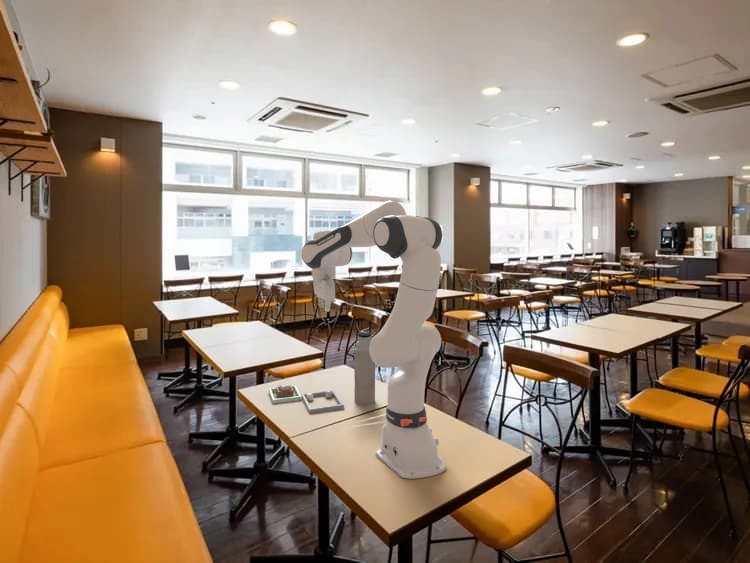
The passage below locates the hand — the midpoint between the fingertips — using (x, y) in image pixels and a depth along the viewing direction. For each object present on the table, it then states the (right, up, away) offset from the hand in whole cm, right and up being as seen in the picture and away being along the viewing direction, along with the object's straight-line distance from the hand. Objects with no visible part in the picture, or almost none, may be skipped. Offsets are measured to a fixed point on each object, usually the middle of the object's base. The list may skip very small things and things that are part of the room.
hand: (324, 309), depth 170 cm
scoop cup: (-17, -36, +8) cm, 40 cm away
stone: (-17, -35, +8) cm, 40 cm away
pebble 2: (+1, -36, +7) cm, 37 cm away
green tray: (-17, -36, +8) cm, 41 cm away
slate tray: (-1, -37, +1) cm, 37 cm away
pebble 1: (-6, -36, +4) cm, 37 cm away
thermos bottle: (+16, -37, +3) cm, 40 cm away
